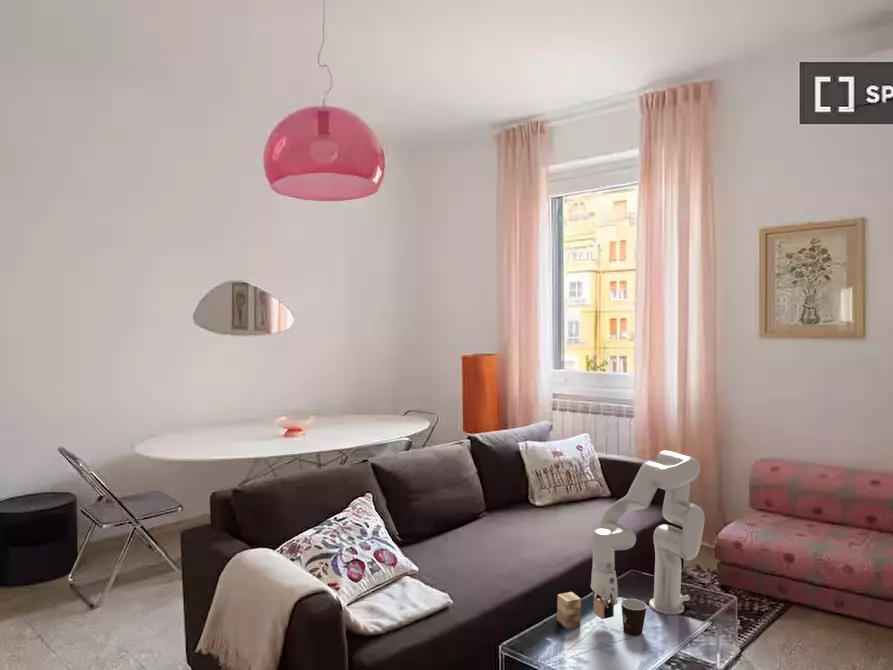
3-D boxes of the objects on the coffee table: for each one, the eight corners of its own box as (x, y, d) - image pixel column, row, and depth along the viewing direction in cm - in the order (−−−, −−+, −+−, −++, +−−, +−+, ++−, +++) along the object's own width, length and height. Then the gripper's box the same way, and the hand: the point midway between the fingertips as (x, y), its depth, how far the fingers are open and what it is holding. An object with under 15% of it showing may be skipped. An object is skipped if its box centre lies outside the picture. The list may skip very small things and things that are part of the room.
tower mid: (571, 604, 245) (571, 591, 245) (580, 612, 240) (581, 598, 240) (557, 607, 243) (557, 594, 243) (566, 615, 238) (566, 601, 237)
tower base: (570, 618, 246) (571, 604, 245) (580, 625, 240) (580, 612, 240) (556, 621, 243) (557, 607, 243) (565, 628, 238) (566, 615, 238)
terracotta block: (605, 609, 242) (605, 596, 242) (613, 616, 238) (613, 602, 237) (593, 612, 240) (593, 599, 240) (602, 619, 236) (602, 605, 235)
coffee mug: (646, 639, 232) (647, 611, 231) (620, 636, 233) (621, 608, 233) (643, 623, 243) (644, 596, 242) (619, 620, 245) (620, 593, 244)
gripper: (627, 572, 231) (627, 622, 233) (598, 553, 247) (598, 600, 248) (609, 576, 228) (609, 627, 230) (580, 557, 244) (581, 605, 245)
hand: (603, 613), depth 239 cm, fingers closed on terracotta block, 5 cm apart
